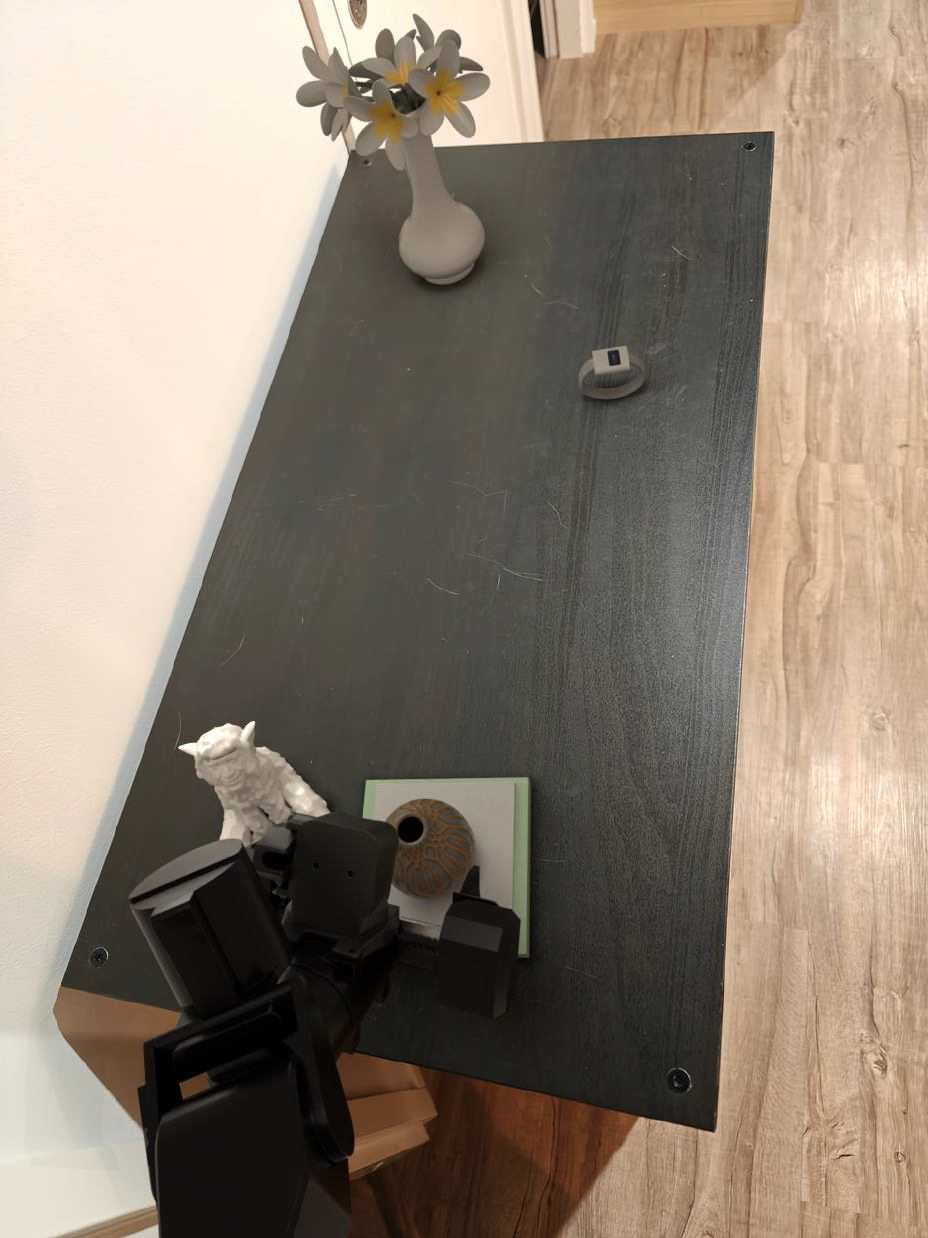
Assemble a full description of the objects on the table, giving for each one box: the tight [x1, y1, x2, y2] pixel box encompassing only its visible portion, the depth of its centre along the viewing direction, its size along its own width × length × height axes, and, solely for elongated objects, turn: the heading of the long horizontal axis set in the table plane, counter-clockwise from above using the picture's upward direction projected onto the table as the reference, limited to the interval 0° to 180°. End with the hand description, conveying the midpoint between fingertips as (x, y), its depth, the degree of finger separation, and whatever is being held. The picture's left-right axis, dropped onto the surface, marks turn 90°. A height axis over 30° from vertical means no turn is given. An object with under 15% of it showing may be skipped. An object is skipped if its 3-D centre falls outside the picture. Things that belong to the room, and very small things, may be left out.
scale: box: [362, 776, 532, 959], centre depth 71 cm, size 13×13×2 cm
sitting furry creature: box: [178, 720, 331, 848], centre depth 72 cm, size 10×9×12 cm
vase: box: [385, 798, 476, 900], centre depth 67 cm, size 7×7×9 cm
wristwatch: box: [578, 345, 647, 400], centre depth 88 cm, size 6×3×5 cm, turn 92°
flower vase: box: [295, 13, 491, 286], centre depth 92 cm, size 13×18×25 cm
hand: (410, 856), depth 63 cm, fingers open, 9 cm apart
